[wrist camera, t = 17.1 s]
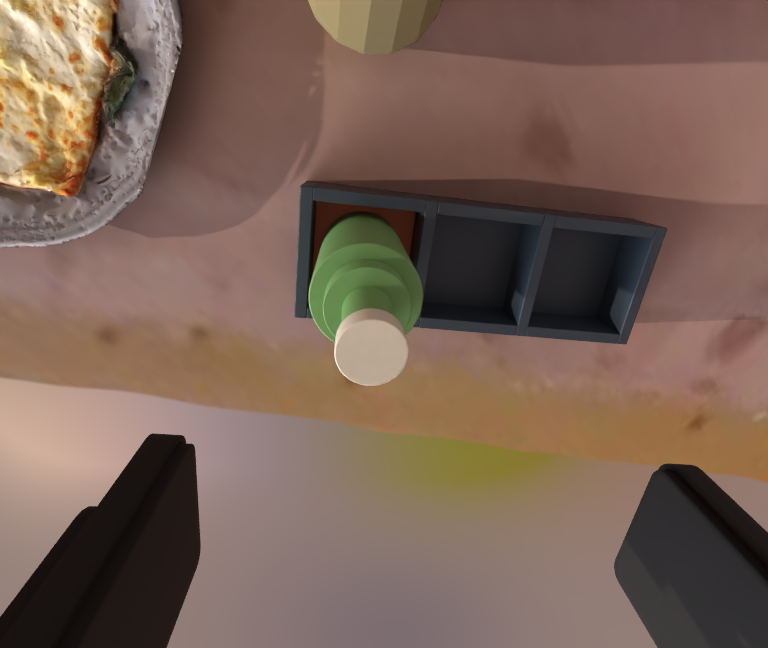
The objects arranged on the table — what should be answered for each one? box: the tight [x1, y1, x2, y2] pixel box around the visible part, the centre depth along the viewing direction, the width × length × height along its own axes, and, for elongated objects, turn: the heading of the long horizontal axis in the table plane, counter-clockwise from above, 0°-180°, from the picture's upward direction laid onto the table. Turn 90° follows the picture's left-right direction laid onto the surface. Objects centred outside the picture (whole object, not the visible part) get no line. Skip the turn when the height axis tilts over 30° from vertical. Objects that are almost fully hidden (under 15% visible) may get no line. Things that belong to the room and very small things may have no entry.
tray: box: [294, 181, 667, 344], centre depth 32 cm, size 25×9×4 cm, turn 83°
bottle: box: [309, 211, 423, 386], centre depth 24 cm, size 6×6×17 cm
